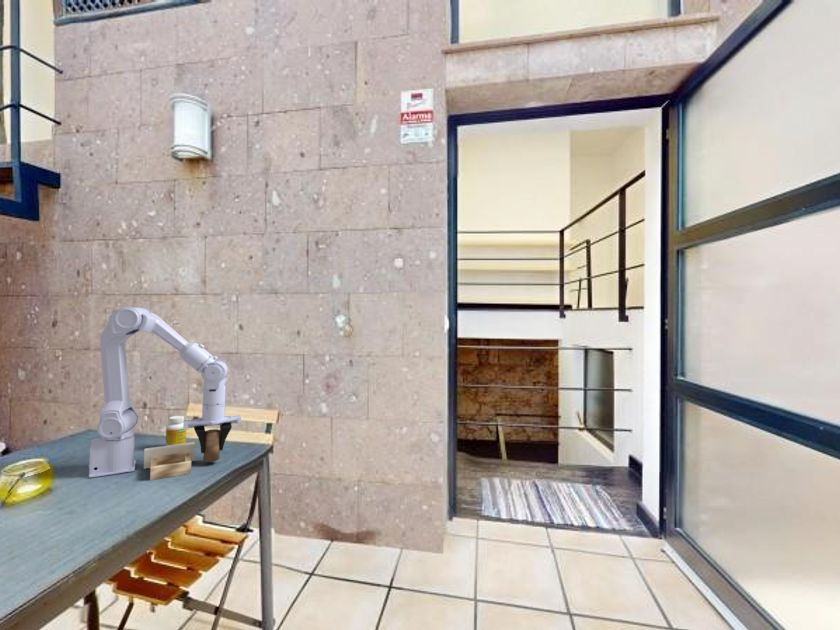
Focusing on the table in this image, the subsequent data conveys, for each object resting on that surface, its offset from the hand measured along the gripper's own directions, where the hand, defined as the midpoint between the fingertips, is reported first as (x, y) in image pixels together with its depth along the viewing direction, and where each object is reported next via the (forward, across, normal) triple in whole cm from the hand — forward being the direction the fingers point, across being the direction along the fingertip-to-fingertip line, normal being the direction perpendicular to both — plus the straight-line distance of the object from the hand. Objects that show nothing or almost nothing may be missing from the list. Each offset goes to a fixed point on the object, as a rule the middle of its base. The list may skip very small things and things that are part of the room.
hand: (211, 450), depth 113 cm
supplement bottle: (+4, -8, +19) cm, 21 cm away
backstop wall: (+4, -10, +5) cm, 12 cm away
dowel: (+2, 0, 0) cm, 2 cm away
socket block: (+4, -10, 0) cm, 11 cm away
